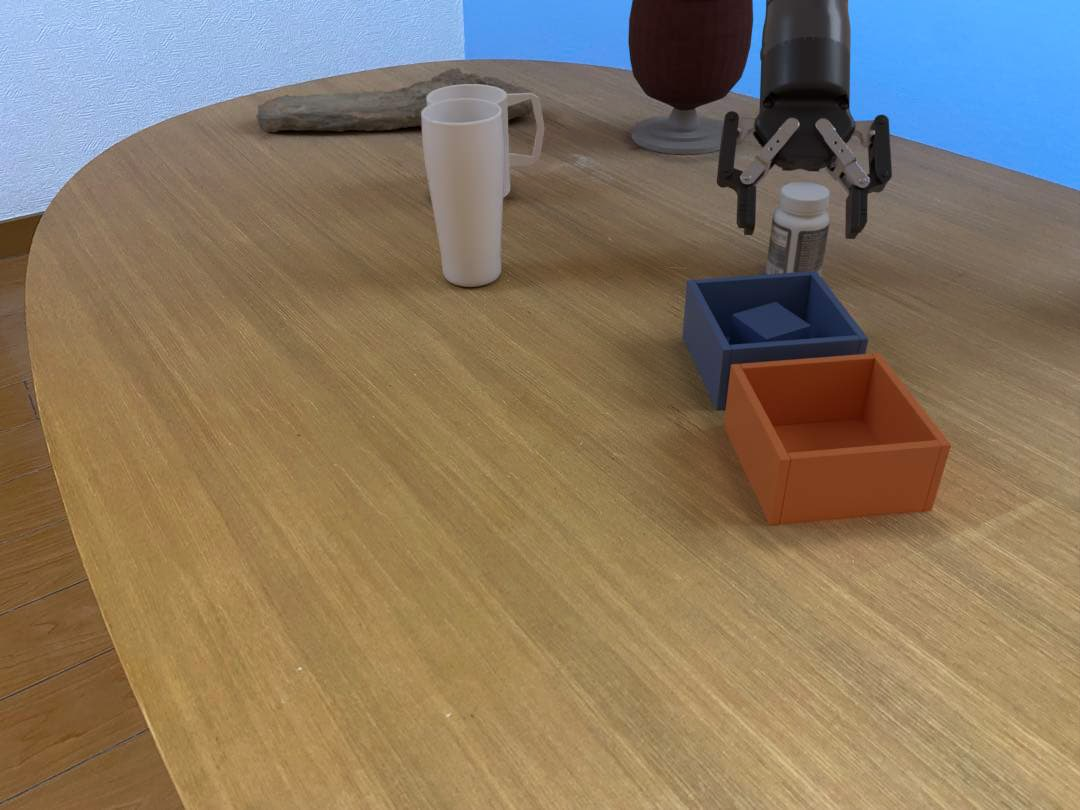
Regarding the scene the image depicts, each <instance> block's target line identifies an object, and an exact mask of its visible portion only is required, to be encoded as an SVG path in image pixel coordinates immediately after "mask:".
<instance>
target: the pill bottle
mask: <svg viewBox="0 0 1080 810" xmlns="http://www.w3.org/2000/svg"><path fill="white" fill-rule="evenodd" d="M830 193H831V192H830V190H829V188H827V187H826V186H824V185H822V184H819V183H815V182H811V181H794V182H789V183H787V184H784V185H783V186H781V188H780V193H779V199H778V207H777V208H775V210H774V211H773V214H772V217H771V218H772V219H771V220H772V221H771V228H770V235H769V243H768V252H767V260H766V267H765V274H780V273H794V272H810V271H817V273H818V274H819V275H820V277H821V278H822V271H823V265H824V260H825V254H826V249H827V248H826V247H827V241H828V235H829V229H830V224H831V216H830V214H829V212H828V211H827V210H828V207H829V204H830V203H829V201H830Z"/></svg>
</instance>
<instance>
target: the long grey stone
mask: <svg viewBox="0 0 1080 810" xmlns="http://www.w3.org/2000/svg"><path fill="white" fill-rule="evenodd" d="M462 84H481V85H489V86H494V87H498V88H500V89H502V90H504V91H505V92H506V93H507V94H516V93H532V94H534V93H533V91H532V90H531V89H529V88H526V87H523V86H516V85H514V84H513V83H507V82H505V81H504V80H501V79H500V78H498V77H492V76H483V77H481V76H480V75H479V74H478V73H476V72H473V73H472V72H471V73H463V72H462V70H461V69H460V68H459V67H457V68H450V69H447V70H446V71H443V72H441V73H439V74H438V75H434V76H433V77H431V80H427V81H423V80H422V81H417V82H414V83H412V84H411V85H410V86H407V87H404V86H403V87H401V88H398V89H397V88H396V89H393V90H391V91H385V90H372V91H361V92H360V91H352V92H347V93H339V92H338V93H329V94H328V93H326V94H324V93H323V94H309V95H289V94H285V95H284V96H281V95H280V96H276V97H275V98H271V99H268V100H266V101H265V102H263V104H258V105H257V109H258V110H257V113H256V115H255V116H256V119H257V125H258V126H259V128H261V129H262V130H264V131H265V132H267V133H277V132H279V131H289V130H290V131H297V132H298V131H299V132H300V131H318V132H322V131H325V132H326V131H327V132H328V131H332V132H338V133H340V132H345V131H366V132H374V131H381V132H383V131H392V130H398V129H401V128H403V129H405V128H415V127H422V126H421V112H422V110H423V109H424V108H425V107H427V100H426V97H427V95H428V94H429V93H430V92H432V91H434V90H436V89H439V88H443V87H447V86H453V85H462ZM533 112H534V110H533V105H532V100H531V99H529V100H526V101H523V102H520V103H517V104H514V105H511V106H508V120H511V119H515V118H518V117H524V116H527V115H528V116H529V115H530V114H532V113H533Z"/></svg>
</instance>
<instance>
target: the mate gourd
mask: <svg viewBox="0 0 1080 810" xmlns="http://www.w3.org/2000/svg"><path fill="white" fill-rule="evenodd" d="M753 26H754V1H753V0H631V5H630V13H629V17H628V39H627V40H628V41H627V42H628V54H629V62H630V67H631V72H632V76H633V78H634V79H635V81H636V82H637V84H638V85H639V86H640V88H641V90H642V91H643V93H644V94H645V95H646V96H648V97H649V98H651V99H653V100H656V101H658V102H660V103H663V104H666V105H668V106H670V107H672V110H671V113H670V114H667V115H659V116H652V117H648V118H645V119H642V120H640V121H638V122H637V123H635V124H634V125H633V126H632V129H631V139H632V140H633V142H634V143H635V144H637V145H638V146H639V147H642V148H644V149H647V150H650V151H653V152H657V153H664V154H670V155H682V156H683V155H701V154H702V155H704V154H710V153H715V152H718V151H720V144H721V135H722V128H723V123H724V121H721V120H719V119H715V118H711V117H707V116H701V115H698V112H697V109H696V108H699V107H702V106H704V105H707V104H711V103H714V102H718V101H719V100H722V99H723V98H725V97H727V95H728V94H729V93H730V92H731V90H732V89H733V88H735V85H737V84H738V82H739V81H740V80H741V79H742V77H743V74H744V72H745V69H746V65H747V63H748V58H749V55H750V50H751V47H752V37H753V29H754V28H753Z"/></svg>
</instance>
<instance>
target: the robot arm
mask: <svg viewBox="0 0 1080 810" xmlns="http://www.w3.org/2000/svg"><path fill="white" fill-rule="evenodd" d="M849 12H850V11H849V0H765V17H764V22H763V26H762V27H763V28H762V35H761V48H760V51H759V60H760V82H759V83H760V85H759V112H758V114H757V116H756V118H750V117H740V116H739V114H738V113H737V112H736V111H734V110H730V111H728V112H726V113H725V115H724V120H723V122H724V123H723V128H722V135H721V144H720V150H719V154H718V155H719V156H718V164H717V173H716V184H717V186H718V187H720V188H722V189H724V188H728V189H731V190H733V191H734V192H735V194H736V197H737V198H736V226H737V228H738V229H743V235H744V236H753V235H754V232H755V228H756V216H757V215H756V212H757V185H758V184H759V183H760V182H761V181H762V180H763V179H764V178H765V177H766V176H767V175H768V174H769V173H770V172H771V170H772V169H773V168H774V167H775V166H776V167H778V168H780V169H781V171H784V172H792V171H797V170H803V171H807V172H816V173H817V172H818V173H819V172H820V170H822V169H825V170H826V171H827V173H828V174H829V175H830V177H831V178H832V179H833V180H834V181H835V182H838V183H839V184H840V185H841V187H842V188H843V189H844V191H845V192H846V193H847V194H848V195H847V197H846V199H845V229H844V231H845V235H844V237H845V240H855V239H856V238H857V236H859V234H860V233H862V232H863V230H864V229H865V227H866V225H867V224H868V206H869V205H868V204H869V203H868V202H869V201H868V200H869V199H868V198H869V195H870V194H872V193H876V194H877V193H881V192H883V190H884V189H885V188H886V186H887V184H888V182H890V181H891V179H892V178H893V168H892V165H893V164H892V149H891V147H892V146H891V132H890V119H889V117H888V116H887V115H886V114H878V115H876V116H875V117H874V119H871V120H869V119H868V120H855V119H854V117H853V116H852V113H851V109H850V106H851V105H850V103H851V102H850V101H851V100H850V99H851V98H850V97H851V96H850V94H851V48H852V47H851V45H852V43H851V41H852V40H851V37H852V36H851V35H852V32H851V31H852V30H851V19H850V13H849ZM749 134H752V135H753V137H754V138H755V140H756V141H757V142H758V144H759V145H760V147H761V149H760V150H759V151H758V153H757V154H756V156H755V157H754V159H753V160H752V161H751V162H750V163H749V164H748V166H747V167H746V168H745V169H744V170H740V169H738V168H735V159H736V151H737V145H741V144H743V143H744V142H745V141H746V137H747V136H748V135H749ZM852 137H857V138H858V139H859V142H860V144H861V146H862V147H863V148H867V156H868V173H866V172H865V171H864V169H863V168H862V167H861V165H860V164H859V163H858V162H857V157H856V155H855V154H854V152H853V150H851V149H850V147H849V146H848V145H847V144H848V143H849V141H850V140H851V138H852Z"/></svg>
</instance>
